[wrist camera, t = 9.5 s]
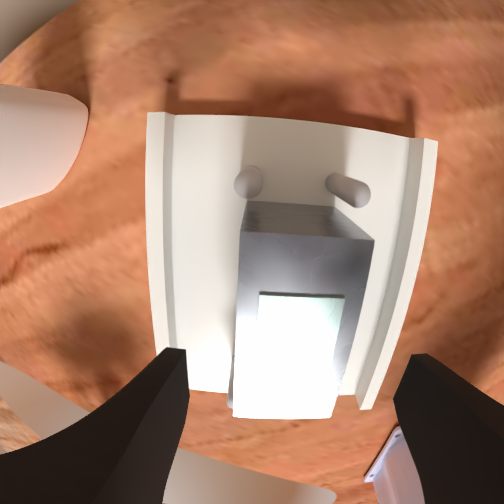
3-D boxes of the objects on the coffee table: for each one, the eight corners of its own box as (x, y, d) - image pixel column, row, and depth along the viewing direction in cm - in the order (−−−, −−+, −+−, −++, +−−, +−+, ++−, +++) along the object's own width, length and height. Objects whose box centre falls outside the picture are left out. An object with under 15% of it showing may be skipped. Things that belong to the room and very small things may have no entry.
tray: (362, 386, 19) (379, 431, 15) (172, 378, 19) (156, 425, 15) (415, 140, 14) (462, 142, 10) (163, 116, 14) (129, 107, 10)
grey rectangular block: (313, 346, 17) (330, 419, 12) (239, 344, 17) (232, 418, 12) (334, 206, 14) (376, 241, 9) (246, 200, 14) (239, 232, 9)
